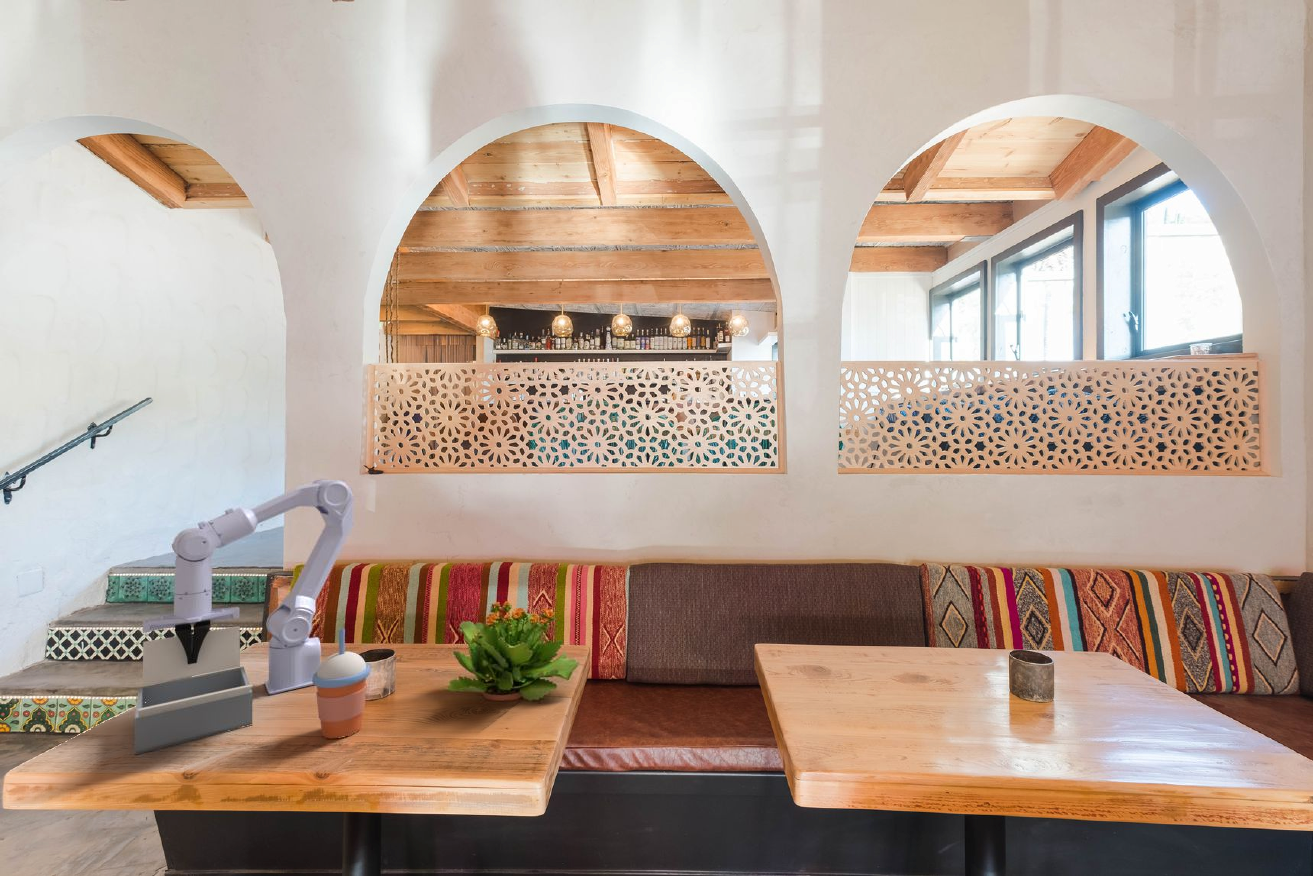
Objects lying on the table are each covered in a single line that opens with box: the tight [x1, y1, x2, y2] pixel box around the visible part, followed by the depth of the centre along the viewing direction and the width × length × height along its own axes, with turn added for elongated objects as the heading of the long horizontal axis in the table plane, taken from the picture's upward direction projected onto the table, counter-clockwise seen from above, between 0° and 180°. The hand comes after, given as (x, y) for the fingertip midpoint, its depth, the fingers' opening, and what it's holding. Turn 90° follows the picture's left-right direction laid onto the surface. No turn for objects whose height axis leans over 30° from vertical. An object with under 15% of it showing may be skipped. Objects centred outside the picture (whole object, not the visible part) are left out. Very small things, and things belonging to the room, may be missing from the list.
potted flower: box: [446, 600, 580, 702], centre depth 121 cm, size 25×24×18 cm
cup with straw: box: [312, 628, 371, 739], centre depth 105 cm, size 9×9×18 cm
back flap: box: [142, 626, 241, 687], centre depth 115 cm, size 15×8×1 cm
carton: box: [134, 666, 253, 756], centre depth 108 cm, size 16×16×6 cm
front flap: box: [138, 683, 254, 718], centre depth 100 cm, size 15×8×1 cm, turn 130°
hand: (192, 662), depth 114 cm, fingers closed, pressing on back flap
